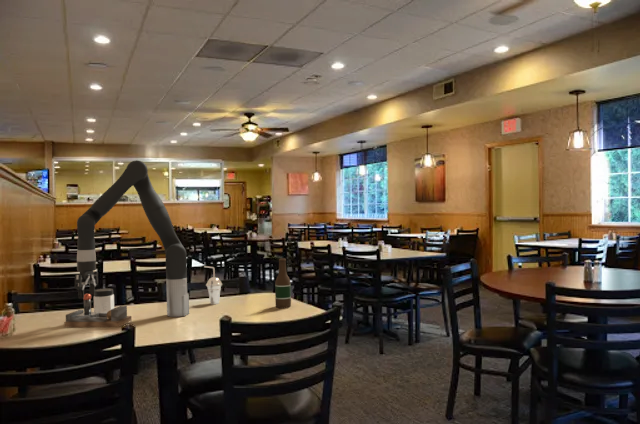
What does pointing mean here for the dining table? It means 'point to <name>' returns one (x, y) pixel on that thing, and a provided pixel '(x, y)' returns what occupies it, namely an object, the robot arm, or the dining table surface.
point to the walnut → (109, 314)
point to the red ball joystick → (88, 307)
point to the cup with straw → (214, 288)
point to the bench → (98, 319)
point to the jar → (103, 300)
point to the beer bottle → (282, 286)
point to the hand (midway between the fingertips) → (86, 296)
